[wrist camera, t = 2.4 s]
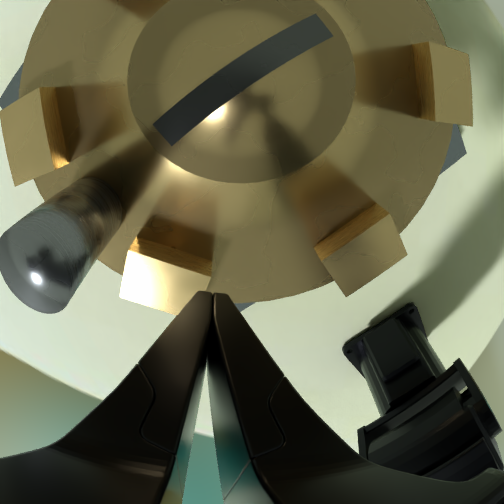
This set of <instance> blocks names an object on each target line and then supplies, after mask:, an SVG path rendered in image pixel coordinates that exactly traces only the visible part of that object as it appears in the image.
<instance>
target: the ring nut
mask: <svg viewBox="0 0 504 504" xmlns="http://www.w3.org/2000/svg"><path fill="white" fill-rule="evenodd" d="M0 119H1V126H2V132H3V137H4V143H5V148H6V153H7V157H8V161H9V166H10V170H11V174H12V178H13V181H14V185H15V186H18V185H20V184H22V183H24V182H27V181H29V180H31V179H34V181H35V183H36V186H37V188H38V190H39V192H40V194H41V196H42V197H43V199H44V201H45V202H44V203H42V204H41V205H40V206H38V207H37V208H35V209H34V210H33V211H31V212H30V213H29V214H27V215H26V216H25V217H23V218H22V219H21V220H19V221H18V222H17V223H15V224H14V225H13V226H12V227H10V228H9V229H8V230H7V231H6V232H4V233H3V235H2V236H1V238H0V271H1V274H2V276H3V278H4V280H5V282H6V284H7V285H8V287H9V288H10V290H11V291H12V292H13V293H14V295H15V296H16V297H17V298H18V299H19V300H20V301H22V302H23V303H24V304H25V305H27V306H28V307H30V308H32V309H34V310H36V311H39V312H42V313H47V314H52V313H57V312H60V311H61V310H63V309H64V308H65V307H66V306H67V304H68V303H69V301H70V299H71V298H72V296H73V295H74V293H75V291H76V290H77V288H78V287H79V285H80V284H81V282H82V281H83V279H84V278H85V276H86V275H87V273H88V272H89V270H90V269H91V267H92V266H93V264H94V263H95V261H96V260H97V259H98V260H99V261H101V262H102V263H103V264H105V265H106V266H108V267H109V268H111V269H112V270H114V271H116V272H117V273H119V274H121V275H123V280H122V286H121V292H120V297H122V298H125V299H127V300H130V301H133V302H136V303H139V304H142V305H145V306H148V307H152V308H155V309H158V310H161V311H164V312H167V313H171V314H174V315H178V314H179V312H180V311H181V310H182V309H183V308H184V306H185V305H186V304H187V303H188V302H189V301H190V299H191V298H192V297H193V296H194V295H195V293H196V292H197V291H208V292H211V293H212V295H213V293H214V292H217V293H226V294H228V295H229V297H230V298H231V300H232V301H233V303H250V302H261V301H270V300H275V299H280V298H285V297H289V296H294V295H297V294H301V293H304V292H307V291H310V290H313V289H316V288H319V287H321V286H324V285H326V284H328V283H330V282H332V281H334V280H335V282H336V283H337V285H338V286H339V288H340V289H341V291H342V292H343V294H344V295H345V296H346V297H347V296H349V295H351V294H352V293H354V292H355V291H357V290H358V289H360V288H361V287H363V286H364V285H366V284H367V283H368V282H370V281H371V280H373V279H374V278H376V277H377V276H379V275H380V274H381V273H383V272H384V271H386V270H387V269H389V268H390V267H391V266H393V265H394V264H396V263H397V262H398V261H400V260H401V259H402V258H404V257H405V256H406V255H407V252H406V250H405V247H404V245H403V243H402V240H401V238H400V235H399V234H400V233H401V232H402V231H403V230H404V229H405V228H406V227H407V225H408V224H409V223H410V222H411V220H412V219H413V218H414V217H415V215H416V214H417V213H418V211H419V210H420V209H421V207H422V206H423V204H424V202H425V201H426V199H427V197H428V196H429V194H430V192H431V191H432V189H433V187H434V185H435V183H436V181H437V179H438V176H439V174H440V172H441V169H442V167H443V164H444V162H445V158H446V155H447V151H448V148H449V144H450V140H451V135H452V129H453V124H459V125H466V126H472V127H473V106H472V86H471V74H470V64H469V56H468V54H466V53H464V52H461V51H458V50H455V49H452V48H449V47H447V46H446V42H445V39H444V36H443V34H442V32H441V29H440V27H439V25H438V22H437V20H436V18H435V16H434V14H433V12H432V10H431V9H430V7H429V5H428V3H427V2H426V0H51V1H50V3H49V4H48V6H47V7H46V9H45V10H44V12H43V14H42V16H41V18H40V20H39V22H38V24H37V26H36V29H35V31H34V33H33V35H32V38H31V41H30V44H29V47H28V50H27V53H26V56H25V60H24V63H23V69H22V74H21V80H20V87H19V99H18V100H17V101H15V102H13V103H12V104H10V105H9V106H7V107H6V108H4V109H3V110H1V111H0Z"/></svg>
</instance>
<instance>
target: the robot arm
mask: <svg viewBox="0 0 504 504" xmlns="http://www.w3.org/2000/svg"><path fill="white" fill-rule="evenodd" d="M342 351H343V353H344V355H345V356H346V357H347V359H348V360H349V361H350V362H351V363H352V364H353V365H354V367H355V368H356V369H357V370H358V371H359V372H360V373H361V375H362V376H363V377H364V378H365V379H366V381H367V383H368V386H369V388H370V391H371V393H372V396H373V398H374V401H375V403H376V406H377V408H378V411H379V413H380V416H381V417H380V418H379V419H377V420H375V421H374V422H372V423H370V424H369V425H367V426H363V427H361V428H359V429H358V430H357V433H358V446H359V454H358V453H357V452H355V451H354V450H353V449H352V448H351V447H350V446H349V445H348V444H347V443H346V442H345V441H344V440H343V439H341V438H340V437H339V436H338V435H337V434H336V433H335V432H334V431H333V430H332V429H331V428H330V427H329V426H328V425H327V424H326V423H325V422H324V421H323V420H322V419H321V418H320V417H319V416H318V415H317V414H316V413H315V412H314V410H313V409H312V408H311V407H310V406H309V405H308V404H307V403H306V402H305V401H304V399H303V398H302V397H301V396H300V394H299V393H298V392H297V391H296V389H295V388H294V387H293V386H292V384H291V383H290V381H289V380H288V379H287V377H284V373H283V372H282V371H281V369H280V368H279V367H278V365H277V364H276V362H275V361H274V360H273V358H272V357H271V356H270V354H269V353H268V351H267V350H266V349H265V347H264V346H263V344H262V343H261V341H260V340H259V339H258V337H257V336H256V334H255V333H254V332H253V330H252V329H251V327H250V326H249V324H248V323H247V321H246V320H245V319H244V317H243V316H242V314H241V313H240V311H239V310H238V308H237V307H236V305H235V304H234V303H233V301H232V300H231V298H230V297H229V295H228V294H226V293H217V292H214V293H213V295H212V293H211V292H208V291H197V292H196V293H195V295H194V296H193V297H192V298H191V299H190V301H189V302H188V303H187V304H186V305H185V306H184V308H183V309H182V310H181V311H180V312H179V314H178V315H177V316H176V317H175V318H174V320H173V321H172V322H171V323H170V324H169V326H168V327H167V328H166V329H165V330H164V332H163V333H162V334H161V335H160V336H159V338H158V339H157V340H156V341H155V342H154V344H153V345H152V346H151V347H150V348H149V350H148V351H147V352H146V353H145V354H144V356H143V357H142V358H141V359H140V360H139V362H138V364H136V365H135V366H134V368H133V369H132V370H131V371H130V372H129V374H128V375H127V376H126V377H125V378H124V379H123V380H122V382H121V383H120V384H119V385H118V386H117V387H116V388H115V389H114V390H113V391H112V392H111V393H110V394H109V395H108V396H107V397H106V398H105V399H104V400H103V401H102V402H101V403H100V404H99V405H98V406H97V407H96V408H94V409H93V410H92V411H91V412H90V413H89V414H88V415H87V416H86V417H85V418H83V419H82V420H81V421H80V422H79V423H78V424H77V425H76V426H75V427H74V428H73V429H72V430H70V432H68V433H67V434H66V435H65V436H63V437H62V438H61V439H59V440H58V441H56V442H54V443H52V444H50V445H48V446H46V447H43V448H40V449H36V450H32V451H28V452H24V453H20V454H17V455H12V456H8V457H3V458H0V504H182V498H183V493H184V487H185V481H186V475H187V468H188V462H189V458H190V452H191V446H192V440H193V435H194V429H195V424H196V418H197V413H198V408H199V402H200V397H201V392H202V386H203V381H204V376H205V370H206V363H207V376H208V387H209V397H210V406H211V415H212V424H213V432H214V440H215V448H216V455H217V463H218V469H219V476H220V483H221V488H222V495H223V500H224V504H504V471H503V470H504V466H503V462H502V459H501V455H500V452H499V448H498V445H497V442H496V440H495V438H494V437H495V436H496V435H498V434H499V433H500V432H501V431H502V429H501V427H500V425H499V423H498V421H497V419H496V417H495V415H494V413H493V412H492V410H491V408H490V406H489V404H488V403H487V401H486V399H485V397H484V395H483V393H482V392H481V391H480V389H479V387H478V385H477V384H476V382H475V380H474V379H473V377H472V376H471V374H470V373H469V371H468V369H467V368H466V367H465V365H464V364H463V362H462V361H461V359H460V358H458V359H457V360H456V361H455V362H453V363H454V364H453V365H452V366H451V367H449V368H448V369H447V370H446V369H445V367H444V366H443V364H442V362H441V361H440V359H439V358H438V356H437V354H436V353H435V351H434V350H433V348H432V347H431V345H430V344H429V342H428V339H427V336H426V333H425V330H424V327H423V324H422V321H421V318H420V315H419V312H418V309H417V307H416V306H415V304H414V303H409V304H407V305H406V306H405V307H403V308H402V309H400V310H399V311H397V312H396V313H395V314H393V315H392V316H390V317H389V318H387V319H386V320H384V321H383V322H381V323H380V324H378V325H377V326H375V327H373V328H372V329H370V330H369V331H367V332H366V333H364V334H362V335H361V336H359V337H358V338H356V339H354V340H353V341H351V342H349V343H348V344H346V345H345V346H343V348H342ZM465 386H467V387H468V389H467V390H465V391H464V392H463V393H462V394H460V393H459V391H461V390H462V389H463V388H464V387H465Z"/></svg>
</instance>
